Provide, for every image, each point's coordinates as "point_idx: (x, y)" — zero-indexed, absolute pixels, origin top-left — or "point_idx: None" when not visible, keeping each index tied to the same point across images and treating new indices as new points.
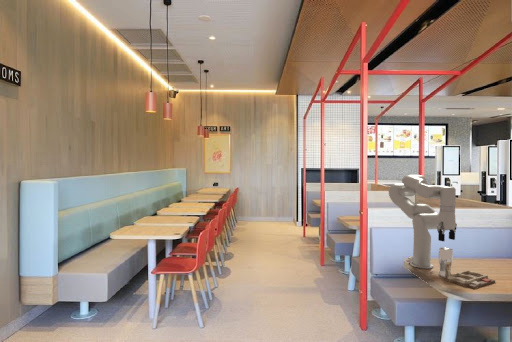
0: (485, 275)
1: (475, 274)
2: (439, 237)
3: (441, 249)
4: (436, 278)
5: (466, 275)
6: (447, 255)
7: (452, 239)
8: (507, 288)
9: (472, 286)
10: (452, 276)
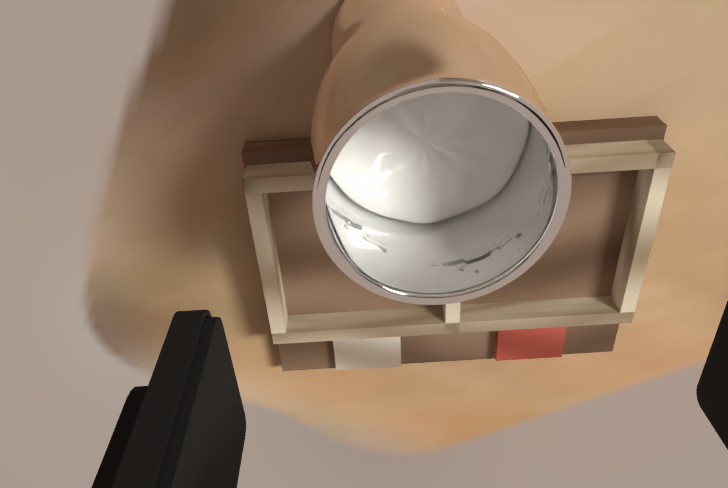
0: (614, 315)
1: (631, 226)
2: (120, 432)
3: (314, 188)
4: (210, 63)
5: None
6: (350, 231)
7: (712, 359)
8: (526, 420)
9: (282, 360)
10: None
